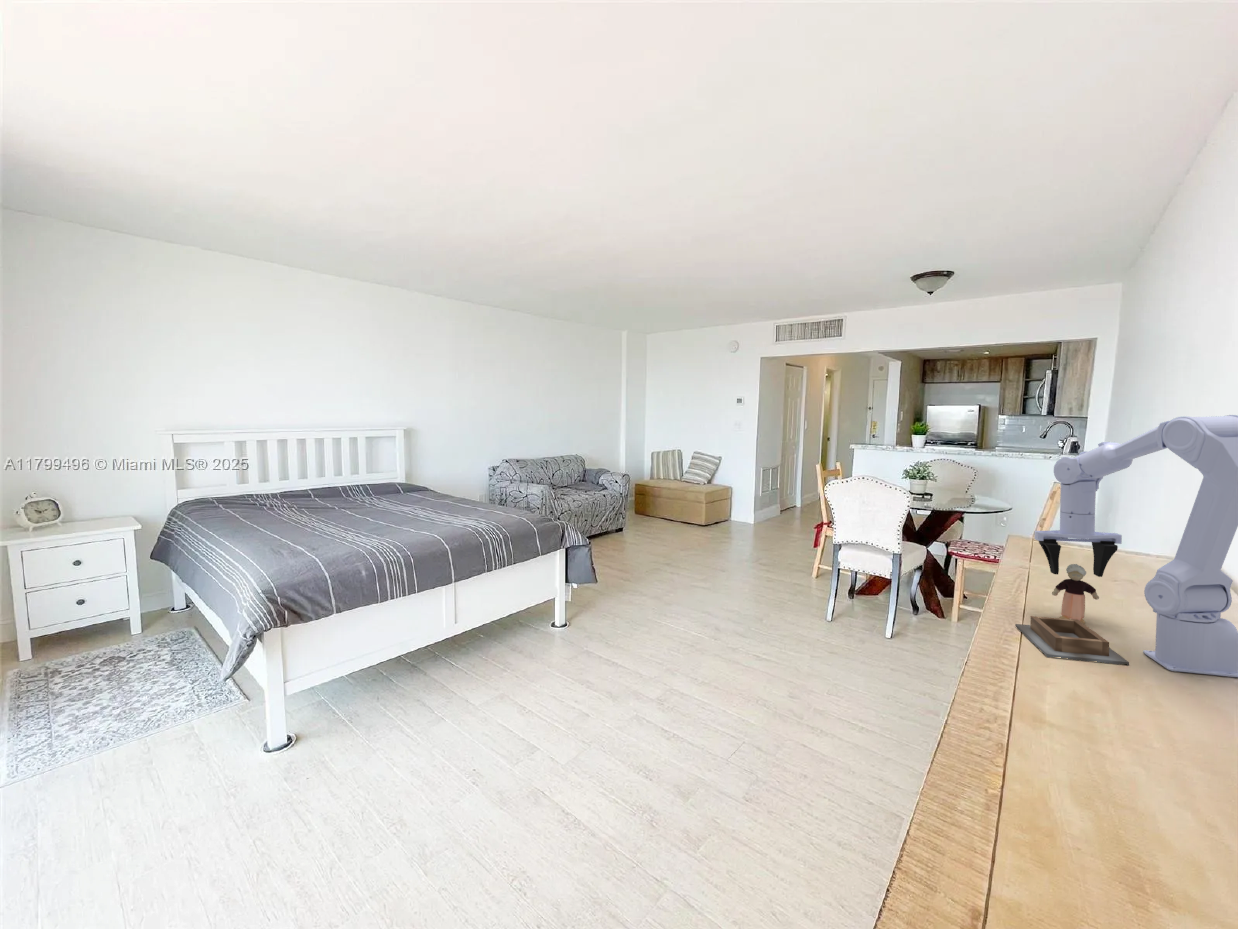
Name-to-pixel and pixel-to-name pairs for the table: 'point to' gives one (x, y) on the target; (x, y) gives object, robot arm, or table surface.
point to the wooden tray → (1069, 640)
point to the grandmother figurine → (1074, 593)
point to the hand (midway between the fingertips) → (1075, 574)
